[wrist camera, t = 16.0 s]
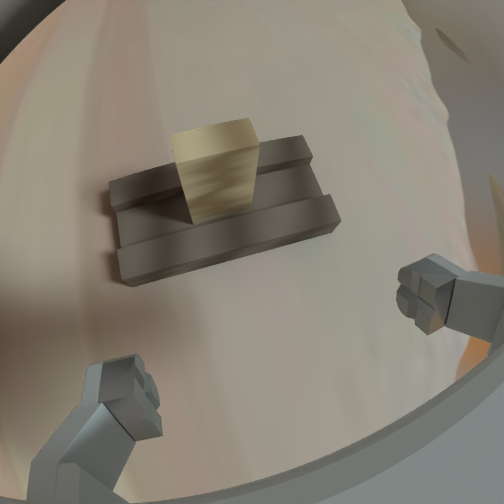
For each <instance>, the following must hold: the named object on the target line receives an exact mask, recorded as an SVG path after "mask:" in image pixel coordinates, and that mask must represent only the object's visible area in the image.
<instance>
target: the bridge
mask: <svg viewBox="0 0 504 504" xmlns="http://www.w3.org/2000/svg"><path fill="white" fill-rule="evenodd" d="M259 144H260V148H259V155H258V163H257V170H256V178H255V186H254V193H253V201H252V208H251V210H249V211H245V212H241V213H237V214H233V215H229V216H225V217H221V218H217V219H214V220H210V221H206V222H202V223H199V224H195V225H193V221H192V218H191V215H190V211H189V208H188V205H187V201H186V198H185V195H184V191H183V188H182V184H181V181H180V177H179V174H178V170H177V167H176V163H175V162H174V163H170V164H166V165H163V166H159V167H156V168H152V169H149V170H145V171H142V172H139V173H135V174H132V175H129V176H126V177H122V178H119V179H116V180H113V181H110V182H109V190H110V201H111V207H112V208H113V210H114V211H115V212H116V215H117V223H118V231H119V238H120V244H121V249H118V250H117V255H118V262H119V268H120V273H121V279H122V281H124V282H125V283H127V284H128V285H130V286H132V287H134V286H138V285H142V284H145V283H149V282H153V281H156V280H160V279H164V278H168V277H171V276H175V275H179V274H182V273H186V272H190V271H193V270H197V269H201V268H204V267H208V266H212V265H215V264H219V263H223V262H226V261H230V260H233V259H237V258H241V257H244V256H248V255H252V254H255V253H259V252H263V251H266V250H270V249H274V248H277V247H281V246H285V245H288V244H292V243H295V242H299V241H303V240H306V239H310V238H314V237H317V236H321V235H325V234H328V233H332V232H333V230H334V229H335V228H336V227H337V225H338V224H339V223H340V222H341V219H340V216H339V214H338V212H337V209H336V207H335V204H334V202H333V200H332V197H331V195H330V194H328V195H324V196H323V194H322V191H321V189H320V187H319V184H318V182H317V180H316V178H315V175H314V173H313V171H312V169H311V166H310V162H311V160H312V157H313V156H312V153H311V151H310V149H309V147H308V145H307V143H306V141H305V139H304V137H303V135H300V136H294V137H288V138H282V139H277V140H271V141H266V142H261V143H259Z"/></svg>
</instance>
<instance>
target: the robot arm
mask: <svg viewBox="0 0 504 504" xmlns="http://www.w3.org/2000/svg"><path fill="white" fill-rule="evenodd" d="M398 281H399V283H400V284H401V285H400V286H399V288H398V290H397V296H396V301H397V304H398V308H399V309H400V311H401V312H402V313H403V314H404V315H405V316H406V317H408V318H412V319H414V321H415V325H416V326H417V327H418V328H420V329H421V330H422V331H423V332H424V333H425V334H426V335H427V336H428V335H429V334H431V333H433V332H435V331H437V330H438V329H440V328H442V327H444V326H445V325H446V327H448V328H450V329H453V330H456V331H459V332H462V333H464V334H467V335H470V336H473V337H476V338H478V339H481V340H484V341H487V342H490V343H491V345H490V348H489V350H488V357H486V358H485V359H484V360H483V361H482V362H481V363H479V364H478V365H477V366H476V367H474V368H473V369H472V370H471V371H469V372H468V373H467V374H466V375H464V376H463V377H461V378H460V379H459V380H457V381H456V382H455V383H453V384H452V385H451V386H449V387H448V388H446V389H445V390H444V391H442V392H441V393H439V394H438V395H436V396H435V397H433V398H432V399H430V400H429V401H427V402H426V403H424V404H423V405H421V406H420V407H418V408H416V409H415V410H413V411H412V412H410V413H408V414H407V415H405V416H403V417H402V418H400V419H398V420H396V421H395V422H393V423H391V424H389V425H388V426H386V427H384V428H382V429H380V430H379V431H377V432H375V433H373V434H371V435H369V436H367V437H365V438H363V439H361V440H359V441H357V442H355V443H353V444H351V445H349V446H347V447H344V448H342V449H340V450H338V451H336V452H333V453H331V454H329V455H326V456H324V457H322V458H319V459H317V460H314V461H312V462H309V463H307V464H304V465H302V466H299V467H296V468H293V469H291V470H288V471H285V472H282V473H279V474H276V475H273V476H270V477H267V478H264V479H260V480H257V481H254V482H250V483H246V484H243V485H239V486H235V487H231V488H227V489H223V490H219V491H214V492H210V493H205V494H200V495H194V496H189V497H183V498H177V499H170V500H162V501H154V502H145V503H133V504H504V276H500V275H494V274H488V273H482V272H476V271H468V272H467V271H465V270H464V269H462V268H460V267H459V266H457V265H455V264H454V263H452V262H450V261H448V260H447V259H445V258H443V257H442V256H440V255H438V254H431V255H429V256H427V257H424V258H423V259H421V260H419V261H416V262H414V263H412V264H409V265H407V266H405V267H402V268H400V270H399V273H398ZM159 406H160V399H159V394H158V390H157V387H156V385H155V382H154V380H153V378H152V376H151V375H150V374H148V373H146V372H145V364H144V362H143V360H142V359H141V357H140V355H138V354H134V355H129V356H124V357H120V358H115V359H110V360H105V361H101V362H96V363H91V364H90V365H89V366H88V367H87V372H86V377H85V382H84V388H83V393H82V399H81V405H80V406H78V407H75V409H74V410H73V411H72V412H71V413H70V415H69V416H68V417H67V418H66V419H65V421H64V422H63V423H62V424H61V426H60V427H59V428H58V429H57V430H56V432H55V433H54V434H53V435H52V437H51V438H50V439H49V440H48V442H47V443H46V444H45V445H44V447H43V448H42V449H41V450H40V452H39V453H38V454H37V455H36V457H35V458H34V459H33V460H32V462H31V468H30V474H29V482H28V490H27V499H26V501H25V500H19V499H12V498H7V497H1V496H0V504H130V503H128V502H127V501H126V500H125V499H123V498H122V497H120V496H119V495H117V494H116V493H114V492H113V489H114V487H115V485H116V483H117V480H118V478H119V476H120V474H121V472H122V470H123V468H124V466H125V464H126V462H127V460H128V458H129V456H130V454H131V452H132V450H133V448H134V446H135V444H136V442H135V441H140V440H145V439H150V438H155V437H159V436H163V432H162V421H161V416H160V415H159V413H158V412H157V409H158V407H159Z"/></svg>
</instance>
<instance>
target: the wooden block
mask: <svg viewBox="0 0 504 504" xmlns="http://www.w3.org/2000/svg"><path fill="white" fill-rule="evenodd" d="M170 139H171V144H172V149H173V153H174V158H175V163H176V167H177V170H178V174H179V177H180V181H181V184H182V188H183V191H184V195H185V198H186V201H187V205H188V208H189V211H190V215H191V218H192V221H193V225H195V224H199V223H202V222H206V221H210V220H214V219H217V218H221V217H225V216H229V215H233V214H237V213H241V212H245V211H249V210H251V208H252V201H253V193H254V186H255V178H256V170H257V163H258V155H259V148H260V144H259V141H258V139H257V136H256V134H255V131H254V129H253V126H252V124H251V122H250V119H249V118H245V119H239V120H234V121H229V122H224V123H219V124H215V125H210V126H206V127H201V128H197V129H193V130H189V131H185V132H181V133H177V134H173V135H170Z"/></svg>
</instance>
